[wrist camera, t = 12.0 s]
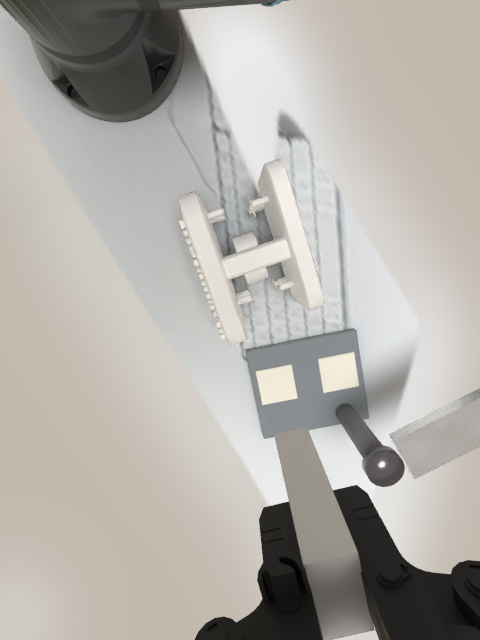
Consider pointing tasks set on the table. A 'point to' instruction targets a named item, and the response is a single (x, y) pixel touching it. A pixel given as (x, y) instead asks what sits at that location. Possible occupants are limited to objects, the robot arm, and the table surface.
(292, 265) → the cable organizer
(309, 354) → the label board
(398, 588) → the robot arm
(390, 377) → the table surface
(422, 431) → the grey lever handle
